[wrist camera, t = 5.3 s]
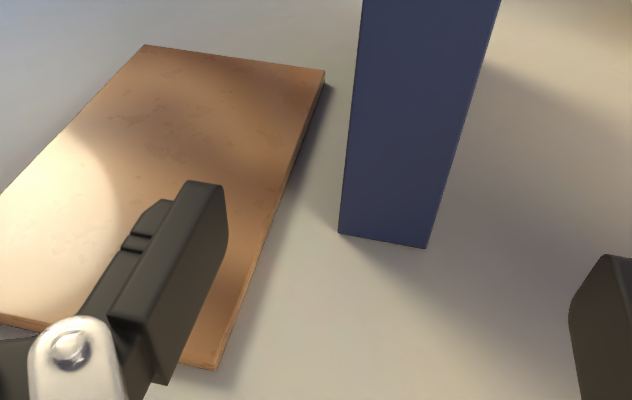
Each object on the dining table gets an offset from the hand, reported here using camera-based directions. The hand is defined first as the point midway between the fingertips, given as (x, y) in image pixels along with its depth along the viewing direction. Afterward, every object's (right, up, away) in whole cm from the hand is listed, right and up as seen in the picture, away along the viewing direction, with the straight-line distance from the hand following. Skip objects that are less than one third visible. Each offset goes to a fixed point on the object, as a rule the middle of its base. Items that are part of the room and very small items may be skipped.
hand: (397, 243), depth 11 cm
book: (+3, +6, +19) cm, 20 cm away
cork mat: (-9, +3, +15) cm, 17 cm away
